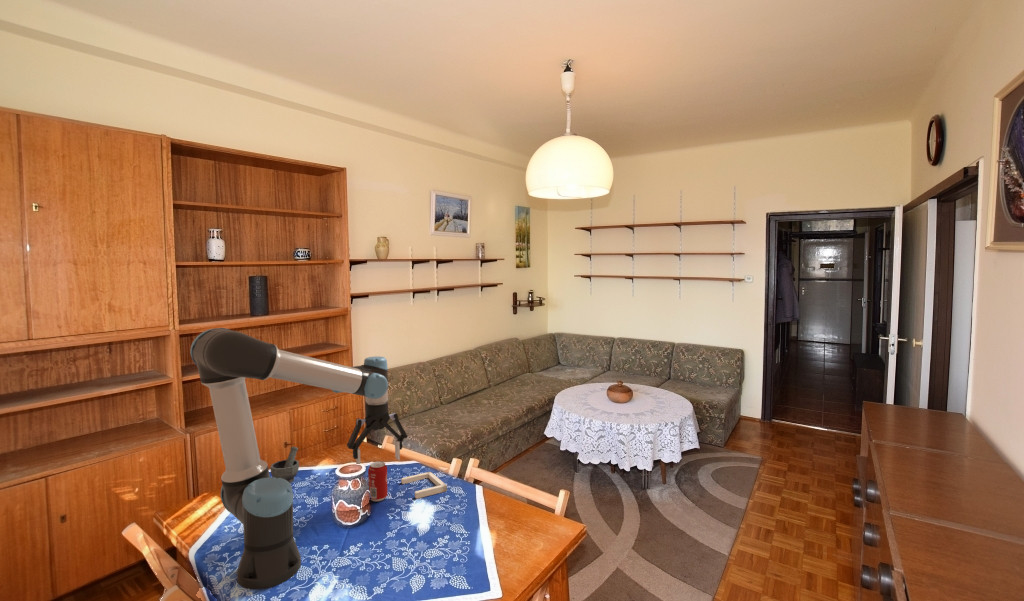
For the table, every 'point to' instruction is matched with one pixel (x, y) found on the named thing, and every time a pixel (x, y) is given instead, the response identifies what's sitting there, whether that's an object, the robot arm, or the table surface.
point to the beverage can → (377, 481)
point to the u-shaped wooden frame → (429, 491)
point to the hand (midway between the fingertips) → (378, 463)
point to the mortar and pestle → (286, 467)
